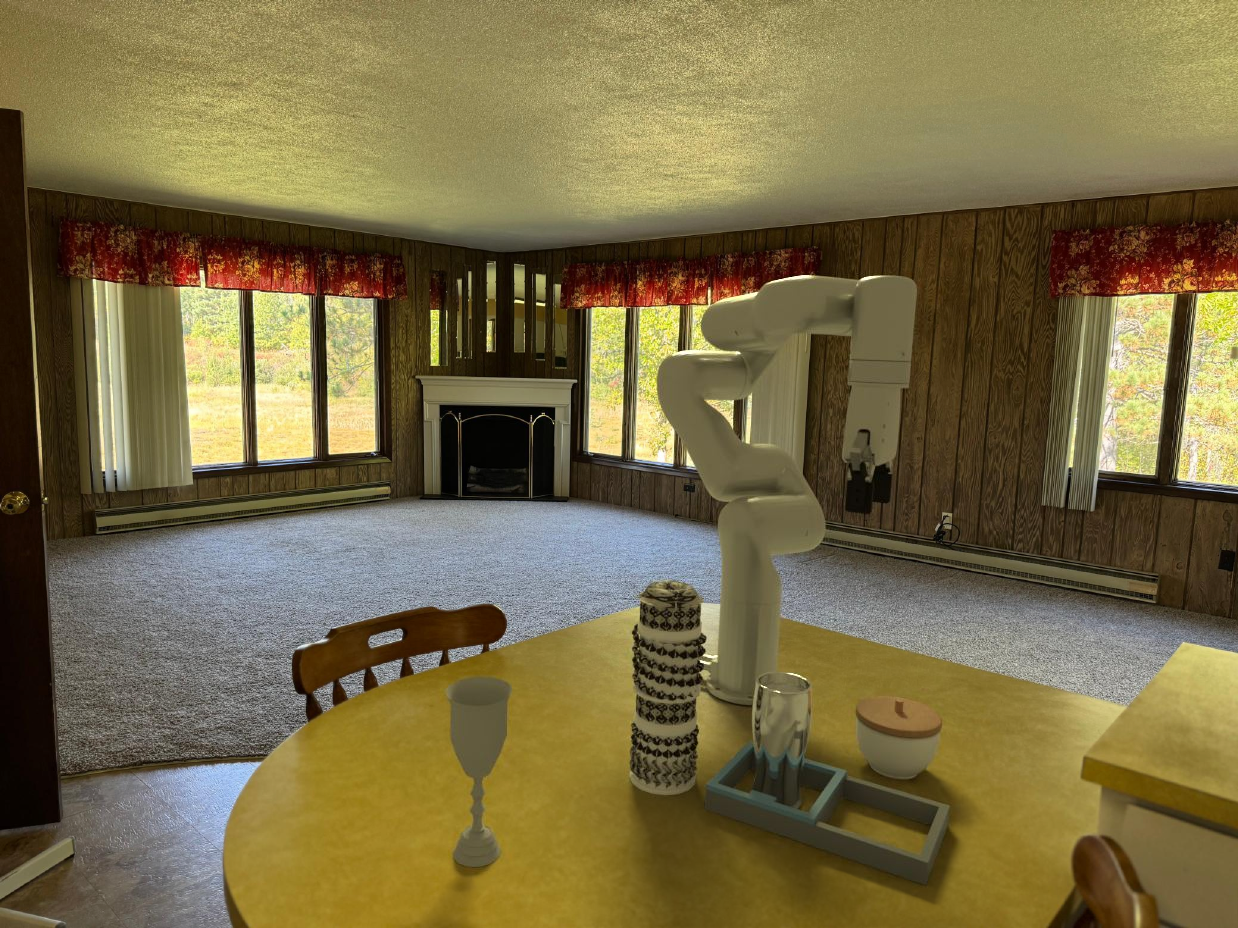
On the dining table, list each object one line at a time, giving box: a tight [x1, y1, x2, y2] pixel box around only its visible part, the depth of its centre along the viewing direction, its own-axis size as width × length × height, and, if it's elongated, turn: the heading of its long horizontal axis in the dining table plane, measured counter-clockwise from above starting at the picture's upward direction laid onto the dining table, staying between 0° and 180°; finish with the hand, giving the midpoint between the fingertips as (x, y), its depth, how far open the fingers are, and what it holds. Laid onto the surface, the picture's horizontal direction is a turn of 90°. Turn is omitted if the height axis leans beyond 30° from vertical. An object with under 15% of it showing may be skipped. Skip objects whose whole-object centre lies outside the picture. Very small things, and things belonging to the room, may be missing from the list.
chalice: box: [445, 676, 513, 868], centre depth 86 cm, size 7×7×18 cm
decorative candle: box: [629, 580, 708, 796], centre depth 102 cm, size 9×9×25 cm
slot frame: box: [704, 741, 951, 886], centre depth 96 cm, size 25×13×3 cm, turn 59°
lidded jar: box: [855, 695, 943, 780], centre depth 108 cm, size 11×11×9 cm
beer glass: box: [751, 671, 813, 810], centre depth 99 cm, size 7×7×15 cm
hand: (868, 507), depth 107 cm, fingers open, 9 cm apart
